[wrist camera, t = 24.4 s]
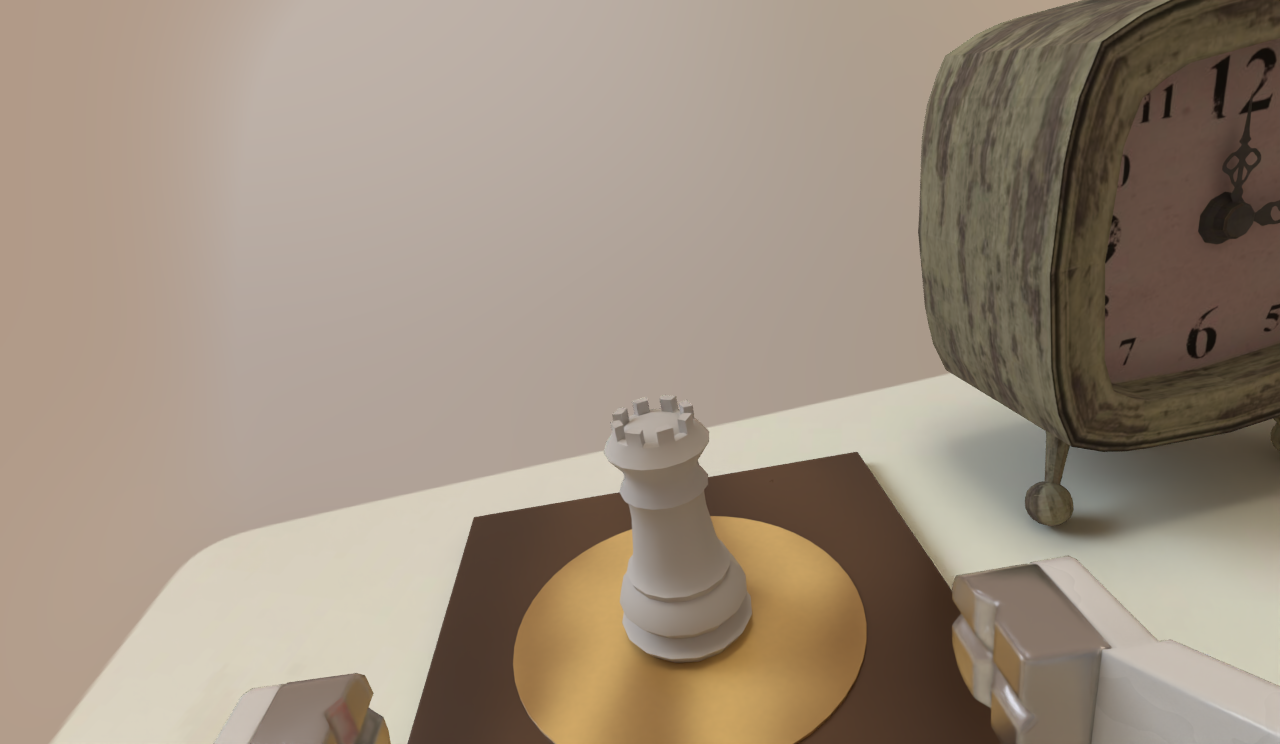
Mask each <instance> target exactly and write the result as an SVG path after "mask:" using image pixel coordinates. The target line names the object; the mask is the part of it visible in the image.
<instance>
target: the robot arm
mask: <svg viewBox="0 0 1280 744" xmlns="http://www.w3.org/2000/svg"><path fill="white" fill-rule="evenodd" d="M952 600H953V601H954V603H955V604H956V606H957V607H958V609H959V610H960V612H961V614H960V616H959V617H958V618H957V619H956V621H955V622H954V623H953V625H952V641H953V649H954V653H955V657H956V661H957V665H958V668H959V670H960V672H961V675H962V677H963V679H964V682H965V683H966V685H967V687H968V689H969V690H970V692H971V694H972V696H973V697H974V698H975V699H977V700H978V701H980V702H982V703H983V704H985V705H987V706H988V707H990V708H991V727H992V729H993V731H994V732H995V734H996V736H997V737H998V739H999V741H1000V742H1001V744H1280V686H1278V685H1276V684H1273V683H1271V682H1269V681H1266V680H1264V679H1262V678H1259V677H1257V676H1255V675H1252V674H1250V673H1248V672H1245V671H1243V670H1241V669H1238V668H1236V667H1234V666H1231V665H1229V664H1227V663H1225V662H1222V661H1220V660H1218V659H1215V658H1213V657H1211V656H1208V655H1206V654H1204V653H1201V652H1199V651H1197V650H1194V649H1192V648H1190V647H1187V646H1185V645H1183V644H1180V643H1178V642H1176V641H1173V640H1164V641H1158V640H1157V639H1156V638H1155V637H1154V636H1153V635H1152V634H1151V633H1150V632H1149V631H1148V630H1147V629H1146V628H1145V627H1144V626H1143V625H1142V624H1141V623H1140V622H1139V621H1138V620H1137V619H1136V618H1135V617H1134V616H1133V615H1132V614H1131V613H1130V612H1129V611H1128V610H1127V609H1126V608H1125V607H1124V606H1123V605H1122V604H1121V603H1120V602H1119V601H1118V600H1117V599H1116V598H1115V597H1114V596H1113V595H1112V594H1111V593H1110V592H1109V591H1108V590H1107V589H1106V588H1105V587H1104V586H1103V585H1102V584H1101V583H1100V582H1099V581H1098V580H1097V579H1096V578H1095V577H1094V576H1093V575H1092V574H1091V573H1090V572H1089V571H1088V570H1087V569H1086V568H1085V567H1084V566H1083V565H1082V564H1081V563H1080V562H1079V561H1078V560H1077V559H1075V558H1072V557H1070V556H1063V557H1057V558H1052V559H1046V560H1040V561H1035V562H1031V563H1029V564H1021V565H1015V566H1009V567H1003V568H998V569H992V570H986V571H980V572H974V573H968V574H962V575H957V576H956V577H955V579H954V582H953V589H952ZM372 696H373V691H372V689H371V687H370V685H369V683H368V681H367V679H366V676H365V675H361V674H358V673H355V674H347V675H340V676H333V677H326V678H318V679H311V680H304V681H296V682H289V683H287V684H281V685H273V686H266V687H258V688H252V689H250V690H249V691H248V692H246V693H245V694H243V695H242V696H241V697H240V699H239V701H238V702H237V704H236V706H235V707H234V709H233V711H232V713H231V714H230V716H229V718H228V719H227V721H226V723H225V724H224V726H223V728H222V729H221V731H220V733H219V735H218V736H217V738H216V740H215V741H214V743H213V744H391V743H390V737H389V731H388V728H387V726H386V723H385V720H384V718H383V717H382V716H381V715H379V714H378V713H376V712H374V711H373V710H371V709H370V708H368V707H369V704H370V701H371V698H372Z"/></svg>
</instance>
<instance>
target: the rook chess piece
mask: <svg viewBox="0 0 1280 744" xmlns="http://www.w3.org/2000/svg"><path fill="white" fill-rule="evenodd" d="M632 403H633V409H634V415H631V416H630V417H628V412H627V409H626V408H621V407H620V408H619V409H618V410H616V411H615V412H614V413H613V414H612V416H613V421H612V422H610V423H611V428H612V434H611V435H610V437H609V439H608V440H607V442H606V446H605V449H604V454H605V456H606V457H607V459H608V461H609V462H610V463H612V464H613V465H614V466H615V467H617V468H618V469H619V470H621V471H622V472H623V473H624V477H625V479H624V480H623V482H622V484H621V489H620V494H621V496H622V498H623V499H624V501H625V502H627V503H628V504H629V508H630V513H631V518H632V537H633V555H632V556H631V557H630V559H629V562H628V568H627V572H626V573H625V575H624V576H623V582H622V588H621V595H620V604H621V606H622V608H623V611H624V614H623V621H622V623H623V626H624V628H625V630H626V633H627V635H628V637H629V640H631V641H632V642H633V643H634V644H636V645H637V646H638V647H640V648H641V649H642V650H643V651H645V652H646V653H648V654H650V655H652V656H653V657H656V658H659V659H663V660H667V661H670V662H674V663H682V662H699V661H701V660H704V659H707V658H709V657H712V656H715V655H717V654H720V653H721V652H722V651H724V650H725V649H726V648H727V647H728V646H730V645H731V644H732V643H733V642H734V641H736V640H737V638H738V637H739V636H740V635H741V634H742V633H743V631H744V629H745V627H746V625H747V623H748V621H749V619H750V617H751V615H752V608H751V596H750V594H749V593H748V592H747V586H746V575H745V573H744V571H743V569H742V567H741V566H740V565H739V563H738V562H737V561H736V559H735V558H734V556H733V555H732V554H731V553H729V551H728V549H727V548H726V546H725V545H724V544H723V542H722V541H721V540H719V539H718V537H717V536H716V533H715V530H714V527H713V524H712V520H711V517H710V514H709V511H708V508H707V505H706V500H705V494H704V489H705V488H706V486H707V485H708V474H707V473H706V472H705V470H704V469H703V468H702V467H701V466H700V465H699V463H698V459H699V457H700V455H701V454H702V452H703V450H704V449H705V447H706V446H707V444H708V442H709V431H708V430H707V429H706V428H705V427H704V426H703V425H702V424H701V423H700V422H699V421H698V420H697V419H695V418H694V412H693V406H692V405H691V404H690V402H689V401H688V400H685V401H682V402H680V403H679V407H680V410H679V409H678V405H677V399H676V396H667V395H662V396H661V398H660V403H661V408H660V409H651V410H649V405H648V400H647V397H645V398H641V399H638V400H634V401H632Z"/></svg>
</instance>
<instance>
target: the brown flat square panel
mask: <svg viewBox="0 0 1280 744" xmlns="http://www.w3.org/2000/svg"><path fill="white" fill-rule="evenodd" d="M704 494H705V500H706V505H707V508H708V511H709V514H710V517H711V520H712V524H713V527H714V530H715V533H716V536H717V537H718V539H719V540H721V541H722V542H723V544H724V545H725V546H726V548H727V549H728V551H729V553H731V554H732V555H733V556H734V558H735V559H736V561H737V562H738V563H739V565H740V566H741V567H742V569H743V571H744V573H745V575H746V586H747V592H748V593H749V594H750V596H751V608H752V615H751V617H750V619H749V621H748V623H747V625H746V627H745V629H744V631H743V633H742V634H741V635H740V636H739V637H738V638H737V640H736V641H734V642H733V643H732V644H731V645H730V646H728V647H727V648H726V649H725V650H724V651H722V652H721V653H720V654H717V655H715V656H712V657H709V658H707V659H704V660H701V661H699V662H682V663H674V662H670V661H667V660H663V659H659V658H656V657H653V656H652V655H650V654H648V653H646V652H645V651H643V650H642V649H641V648H640V647H638V646H637V645H636V644H634V643H633V642H632V641H631V640H629V637H628V635H627V633H626V630H625V628H624V626H623V623H622V621H623V614H624V611H623V608H622V606H621V604H620V595H621V588H622V582H623V576H624V575H625V573H626V572H627V568H628V562H629V559H630V557H631V556H632V555H633V537H632V518H631V513H630V508H629V504H628V503H627V502H625V501H624V499H623V498H622V496H621V494H620V492H619V493H613V494H607V495H602V496H596V497H590V498H584V499H578V500H572V501H566V502H561V503H555V504H549V505H543V506H537V507H531V508H525V509H520V510H514V511H508V512H502V513H496V514H490V515H484V516H479V517H474V519H473V522H472V526H471V529H470V532H469V536H468V539H467V543H466V546H465V549H464V553H463V556H462V560H461V563H460V567H459V570H458V573H457V577H456V580H455V584H454V587H453V590H452V594H451V597H450V601H449V604H448V607H447V611H446V614H445V618H444V621H443V624H442V628H441V631H440V635H439V638H438V641H437V645H436V648H435V652H434V655H433V659H432V662H431V665H430V669H429V672H428V676H427V679H426V682H425V686H424V689H423V693H422V696H421V699H420V703H419V706H418V710H417V713H416V716H415V720H414V723H413V727H412V730H411V733H410V737H409V740H408V744H1001V742H1000V741H999V739H998V737H997V736H996V734H995V732H994V731H993V729H992V727H991V708H990V707H988V706H987V705H985V704H983V703H982V702H980V701H978V700H977V699H975V698H974V697H973V696H972V694H971V692H970V690H969V689H968V687H967V685H966V683H965V682H964V679H963V677H962V675H961V672H960V670H959V668H958V665H957V661H956V657H955V653H954V649H953V641H952V625H953V623H954V622H955V621H956V619H957V618H958V617H959V616H960V614H961V612H960V610H959V609H958V607H957V606H956V604H955V603H954V601H953V600H952V590H951V589H950V587H949V586H948V584H947V583H946V581H945V580H944V579H943V577H942V576H941V574H940V573H939V571H938V570H937V568H936V567H935V565H934V564H933V562H932V561H931V559H930V558H929V556H928V555H927V554H926V552H925V551H924V549H923V548H922V546H921V545H920V543H919V542H918V540H917V539H916V537H915V536H914V534H913V533H912V532H911V530H910V529H909V527H908V526H907V524H906V523H905V521H904V520H903V518H902V517H901V515H900V514H899V512H898V511H897V509H896V508H895V507H894V505H893V504H892V502H891V501H890V499H889V498H888V496H887V495H886V493H885V492H884V490H883V489H882V487H881V486H880V484H879V483H878V482H877V480H876V479H875V477H874V476H873V474H872V473H871V471H870V470H869V468H868V467H867V465H866V464H865V462H864V461H863V460H862V458H861V457H860V455H859V454H858V452H853V453H847V454H842V455H836V456H830V457H824V458H818V459H812V460H806V461H801V462H795V463H789V464H783V465H777V466H771V467H765V468H760V469H754V470H748V471H742V472H736V473H730V474H724V475H719V476H713V477H708V485H707V486H706V488H705V489H704Z"/></svg>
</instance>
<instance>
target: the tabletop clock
mask: <svg viewBox="0 0 1280 744" xmlns="http://www.w3.org/2000/svg"><path fill="white" fill-rule="evenodd" d="M918 234H919V245H920V256H921V267H922V278H923V289H924V300H925V309H926V314H927V319H928V324H929V328H930V332H931V336H932V340H933V344H934V346H935V348H936V350H937V352H938V354H939V356H940V358H941V361H942V363H943V365H944V367H945V369H946V370H947V371H949V372H950V373H952V374H954V375H955V376H957V377H959V378H960V379H962V380H963V381H965V382H967V383H968V384H970V385H972V386H973V387H975V388H977V389H978V390H980V391H981V392H983V393H985V394H986V395H988V396H990V397H991V398H993V399H995V400H996V401H998V402H1000V403H1001V404H1003V405H1004V406H1006V407H1008V408H1009V409H1011V410H1013V411H1014V412H1016V413H1018V414H1019V415H1021V416H1023V417H1024V418H1026V419H1027V420H1029V421H1031V422H1032V423H1034V424H1036V425H1037V426H1039V427H1041V428H1042V429H1044V430H1045V431H1046V462H1045V481H1044V482H1039V483H1036V484H1035V485H1033V486H1031V487H1030V489H1029V490H1028V491H1027V494H1026V497H1025V507H1026V510H1027V512H1028V514H1029V515H1030V516H1031V518H1032V519H1033V520H1035V521H1037V522H1038V523H1041V524H1044V525H1048V526H1055V525H1059V524H1062V523H1064V522H1065V521H1067V520H1068V519H1069V518H1070V517H1071V515H1072V512H1073V500H1072V497H1071V495H1070V493H1069V492H1068V490H1067V489H1066V488H1065V487H1063V486H1062V485H1060V482H1061V478H1062V474H1063V470H1064V466H1065V462H1066V458H1067V454H1068V450H1069V446H1072V447H1078V448H1084V449H1090V450H1096V451H1102V452H1113V451H1131V450H1137V449H1144V448H1150V447H1155V446H1161V445H1166V444H1171V443H1176V442H1182V441H1187V440H1192V439H1197V438H1203V437H1208V436H1213V435H1218V434H1224V433H1229V432H1232V431H1235V430H1238V429H1241V428H1244V427H1248V426H1251V425H1254V424H1257V423H1260V422H1263V421H1266V420H1269V419H1272V418H1273V419H1274V420H1275V421H1276V422H1277V424H1276V425H1275V426H1274V427H1273V429H1272V431H1271V441H1272V443H1273V445H1274V446H1275V447H1276V449H1277V450H1278V451H1280V0H1082V1H1078V2H1074V3H1071V4H1067V5H1063V6H1060V7H1056V8H1052V9H1048V10H1045V11H1041V12H1037V13H1034V14H1030V15H1026V16H1022V17H1019V18H1016V19H1013V20H1010V21H1007V22H1003V23H1000V24H998V25H996V26H993V27H991V28H989V29H987V30H985V31H983V32H981V33H979V34H977V35H975V36H974V37H972V38H971V39H969V40H968V41H967V42H965V43H963V44H962V45H961V46H959V47H958V48H956V49H955V50H953V51H952V52H950V53H949V54H948V55H946V56H945V58H944V60H943V62H942V65H941V67H940V70H939V72H938V74H937V76H936V79H935V83H934V86H933V89H932V92H931V95H930V99H929V101H928V104H927V109H926V116H925V122H924V129H923V136H922V151H921V180H920V210H919V229H918Z"/></svg>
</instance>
